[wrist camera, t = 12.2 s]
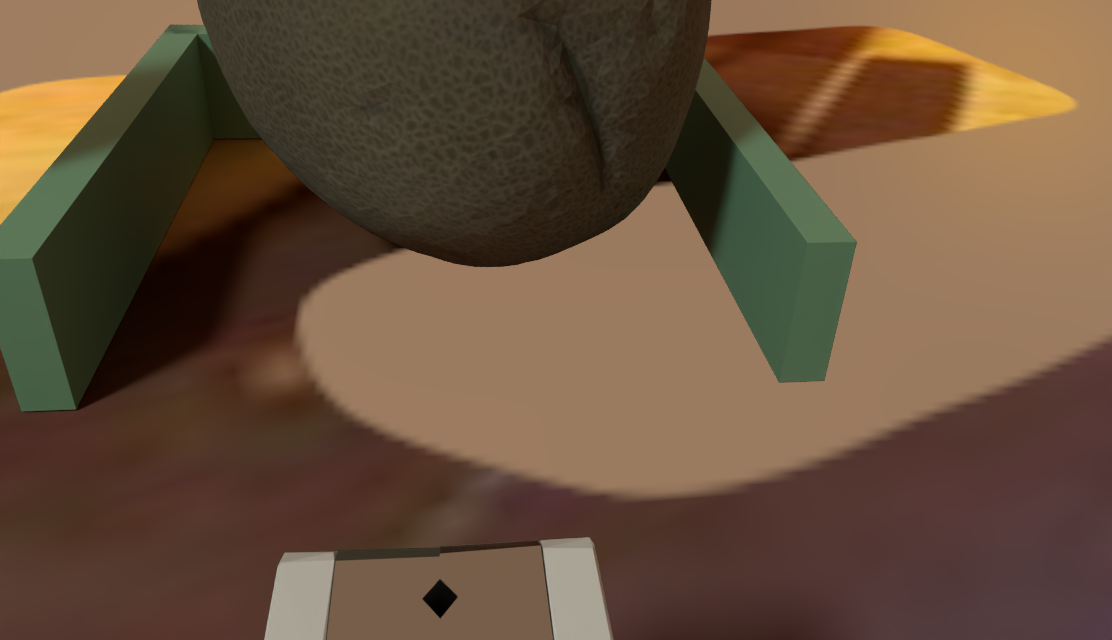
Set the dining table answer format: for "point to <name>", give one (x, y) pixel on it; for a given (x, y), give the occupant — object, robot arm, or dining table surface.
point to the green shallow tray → (213, 113)
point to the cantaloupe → (467, 111)
